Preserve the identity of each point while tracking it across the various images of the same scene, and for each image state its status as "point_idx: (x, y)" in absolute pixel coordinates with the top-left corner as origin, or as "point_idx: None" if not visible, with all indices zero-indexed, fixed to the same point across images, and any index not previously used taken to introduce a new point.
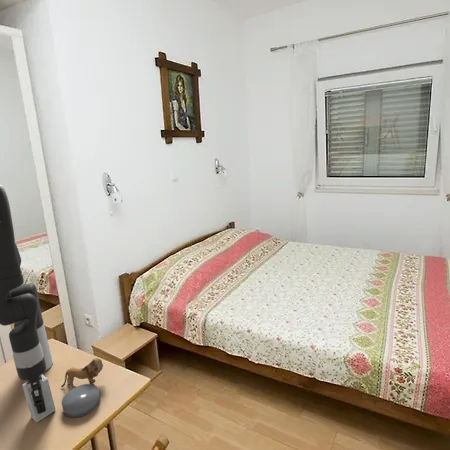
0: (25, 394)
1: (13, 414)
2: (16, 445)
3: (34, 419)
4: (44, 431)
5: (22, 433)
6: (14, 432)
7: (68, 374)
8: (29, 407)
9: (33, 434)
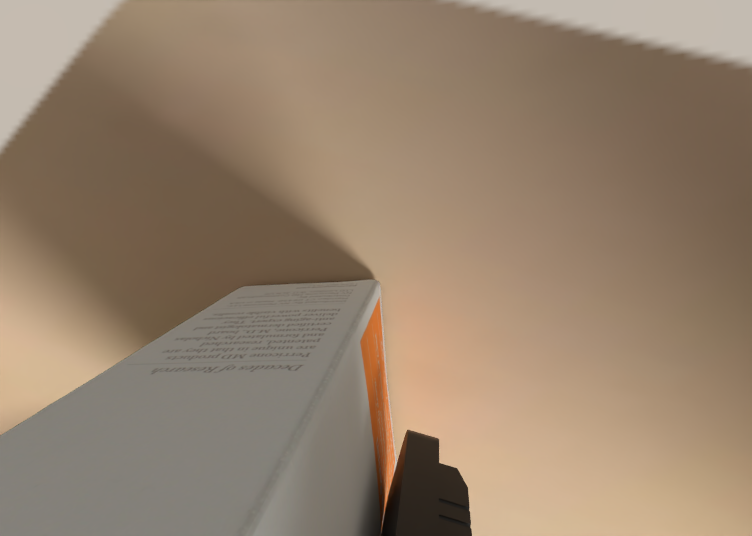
0: (162, 511)
1: (608, 147)
2: (85, 43)
3: (269, 288)
4: (87, 294)
5: (206, 136)
6: (284, 75)
7: None
8: (287, 332)
9: (118, 211)
